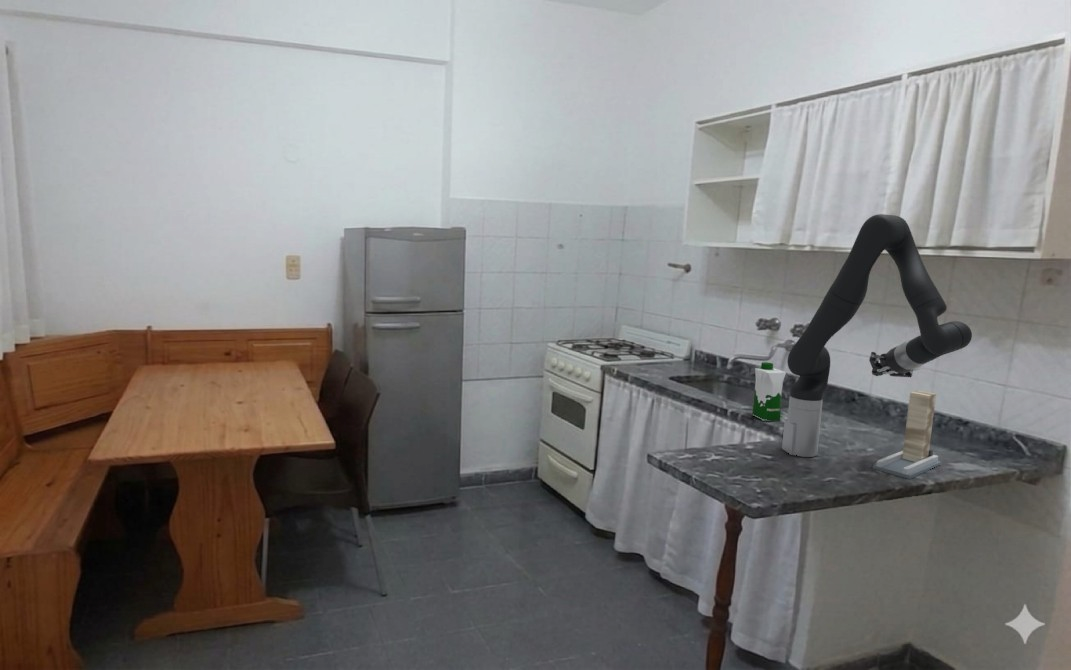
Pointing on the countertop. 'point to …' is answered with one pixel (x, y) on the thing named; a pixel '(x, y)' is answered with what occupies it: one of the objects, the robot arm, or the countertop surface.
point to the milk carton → (768, 392)
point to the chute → (906, 465)
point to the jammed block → (919, 426)
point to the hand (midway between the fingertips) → (874, 372)
